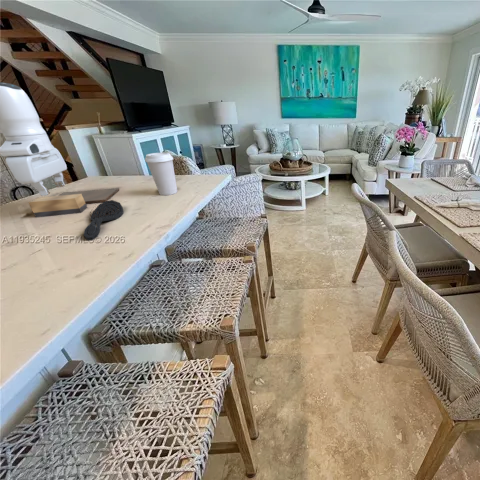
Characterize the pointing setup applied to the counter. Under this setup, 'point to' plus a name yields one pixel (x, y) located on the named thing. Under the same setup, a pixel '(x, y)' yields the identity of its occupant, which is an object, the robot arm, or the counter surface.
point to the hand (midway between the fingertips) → (53, 190)
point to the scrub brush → (58, 205)
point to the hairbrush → (102, 217)
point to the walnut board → (95, 195)
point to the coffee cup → (162, 172)
